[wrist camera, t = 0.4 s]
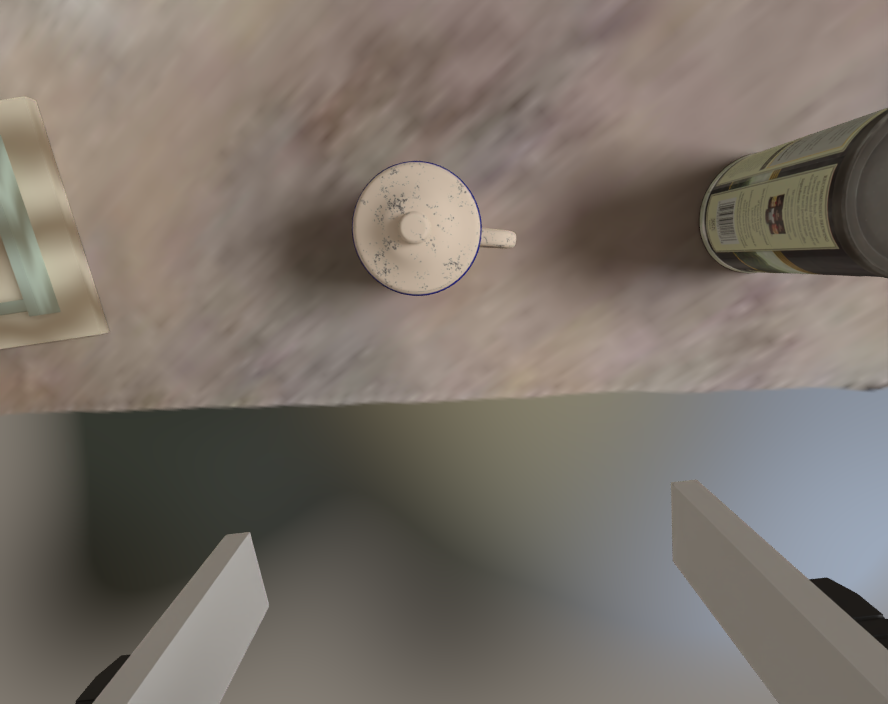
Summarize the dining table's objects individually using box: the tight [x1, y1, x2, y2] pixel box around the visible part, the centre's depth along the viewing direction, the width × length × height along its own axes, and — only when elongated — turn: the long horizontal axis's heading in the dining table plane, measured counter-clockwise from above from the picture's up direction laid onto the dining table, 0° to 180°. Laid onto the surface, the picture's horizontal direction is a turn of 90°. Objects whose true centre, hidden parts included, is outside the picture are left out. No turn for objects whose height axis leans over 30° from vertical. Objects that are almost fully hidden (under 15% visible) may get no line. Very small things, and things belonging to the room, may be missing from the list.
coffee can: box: [700, 108, 888, 278], centre depth 31 cm, size 10×10×14 cm
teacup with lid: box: [352, 161, 516, 296], centre depth 32 cm, size 12×9×12 cm
